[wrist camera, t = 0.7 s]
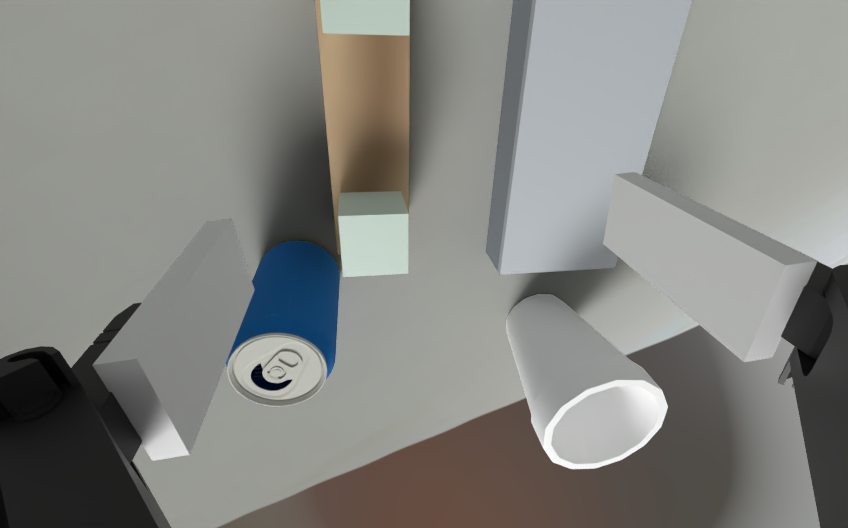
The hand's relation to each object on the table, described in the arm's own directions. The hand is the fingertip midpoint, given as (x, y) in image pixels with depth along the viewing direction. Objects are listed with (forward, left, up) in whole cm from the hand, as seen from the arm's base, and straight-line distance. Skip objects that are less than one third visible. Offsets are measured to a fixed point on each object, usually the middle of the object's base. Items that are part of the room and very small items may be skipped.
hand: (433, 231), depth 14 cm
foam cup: (+14, -19, -18) cm, 30 cm away
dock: (+13, 0, -18) cm, 22 cm away
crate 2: (-2, -5, -13) cm, 14 cm away
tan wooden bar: (-2, +1, -18) cm, 18 cm away
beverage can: (-8, -12, -18) cm, 23 cm away
